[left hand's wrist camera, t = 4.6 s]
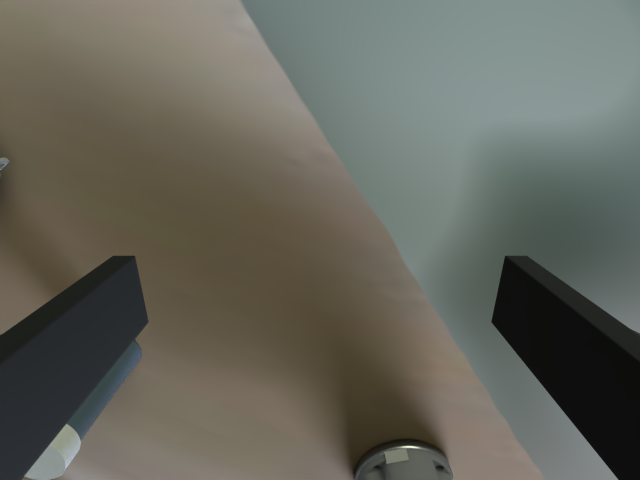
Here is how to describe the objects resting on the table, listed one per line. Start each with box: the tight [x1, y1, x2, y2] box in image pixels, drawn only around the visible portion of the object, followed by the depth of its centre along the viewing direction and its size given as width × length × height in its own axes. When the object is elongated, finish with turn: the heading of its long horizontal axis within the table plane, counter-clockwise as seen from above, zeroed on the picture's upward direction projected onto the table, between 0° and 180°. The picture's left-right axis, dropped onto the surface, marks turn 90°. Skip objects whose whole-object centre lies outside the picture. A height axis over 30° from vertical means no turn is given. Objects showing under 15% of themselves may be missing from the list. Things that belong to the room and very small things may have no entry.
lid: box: [25, 424, 81, 480], centre depth 34 cm, size 6×6×2 cm
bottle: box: [67, 341, 142, 441], centre depth 40 cm, size 5×5×15 cm
